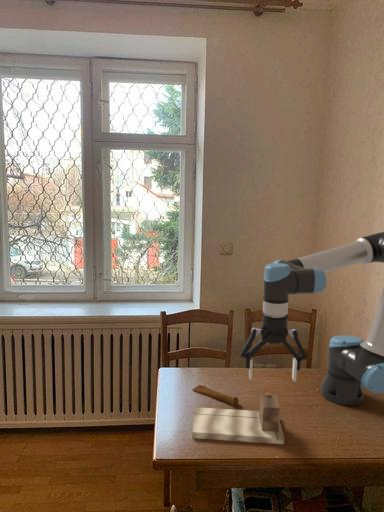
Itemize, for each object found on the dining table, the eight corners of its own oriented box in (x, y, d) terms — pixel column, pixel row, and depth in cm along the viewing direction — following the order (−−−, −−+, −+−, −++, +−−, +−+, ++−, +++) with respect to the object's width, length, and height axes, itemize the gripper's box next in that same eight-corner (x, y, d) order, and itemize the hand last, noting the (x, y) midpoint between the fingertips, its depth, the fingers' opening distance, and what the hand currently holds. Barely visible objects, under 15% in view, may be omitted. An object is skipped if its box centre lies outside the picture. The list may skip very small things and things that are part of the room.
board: (277, 417, 130) (277, 412, 130) (283, 444, 117) (284, 438, 116) (194, 412, 132) (195, 407, 132) (192, 438, 118) (192, 432, 118)
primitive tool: (191, 391, 147) (191, 382, 146) (199, 386, 151) (199, 377, 151) (234, 409, 136) (234, 400, 135) (242, 403, 140) (242, 394, 139)
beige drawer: (274, 417, 127) (275, 392, 126) (278, 431, 119) (279, 406, 118) (259, 416, 127) (260, 392, 126) (261, 430, 120) (263, 405, 118)
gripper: (313, 311, 120) (309, 374, 124) (233, 309, 122) (232, 371, 125) (319, 319, 113) (315, 386, 116) (234, 316, 115) (232, 382, 118)
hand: (272, 378), depth 121 cm, fingers open, 13 cm apart
